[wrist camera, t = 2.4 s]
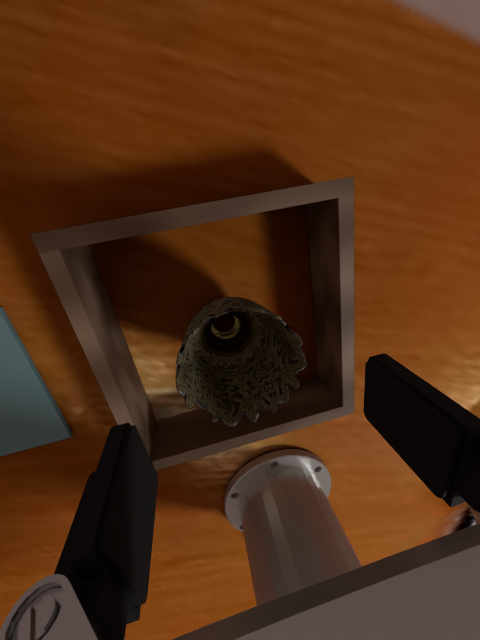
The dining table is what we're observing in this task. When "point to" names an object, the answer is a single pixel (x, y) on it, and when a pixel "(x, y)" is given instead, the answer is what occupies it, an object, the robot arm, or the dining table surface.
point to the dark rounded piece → (238, 361)
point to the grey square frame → (196, 426)
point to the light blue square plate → (24, 398)
